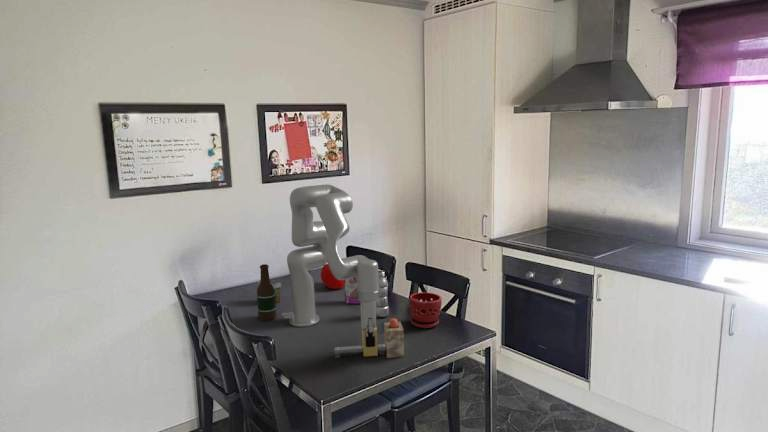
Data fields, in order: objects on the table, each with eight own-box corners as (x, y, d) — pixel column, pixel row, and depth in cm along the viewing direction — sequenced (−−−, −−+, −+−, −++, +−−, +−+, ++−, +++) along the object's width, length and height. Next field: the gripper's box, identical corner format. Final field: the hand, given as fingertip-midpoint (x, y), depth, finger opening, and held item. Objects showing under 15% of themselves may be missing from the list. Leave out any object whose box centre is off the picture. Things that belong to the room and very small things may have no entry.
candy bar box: (345, 304, 234) (343, 270, 231) (346, 300, 239) (345, 267, 236) (368, 304, 233) (367, 270, 230) (370, 300, 238) (369, 267, 235)
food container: (253, 303, 238) (251, 283, 236) (260, 299, 243) (259, 279, 242) (275, 306, 233) (273, 286, 231) (282, 302, 239) (281, 282, 237)
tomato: (347, 292, 252) (346, 265, 249) (319, 292, 252) (318, 266, 250) (349, 282, 267) (348, 257, 265) (323, 282, 267) (322, 257, 265)
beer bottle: (259, 315, 222) (256, 263, 218) (277, 314, 223) (274, 262, 219) (257, 322, 215) (253, 268, 211) (275, 321, 215) (272, 267, 211)
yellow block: (363, 356, 180) (362, 330, 178) (362, 350, 185) (361, 324, 183) (377, 355, 180) (376, 329, 178) (376, 349, 185) (375, 323, 183)
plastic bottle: (387, 319, 215) (386, 274, 211) (372, 318, 216) (370, 273, 213) (390, 313, 221) (389, 269, 218) (375, 313, 222) (374, 269, 219)
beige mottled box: (387, 358, 179) (386, 331, 177) (384, 348, 187) (384, 322, 185) (404, 357, 179) (403, 330, 178) (400, 347, 188) (400, 321, 186)
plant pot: (432, 332, 200) (432, 304, 198) (404, 326, 207) (403, 298, 205) (446, 321, 211) (446, 294, 209) (419, 316, 218) (418, 289, 216)
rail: (334, 358, 180) (334, 350, 179) (334, 355, 182) (334, 347, 182) (387, 354, 182) (387, 346, 181) (386, 351, 184) (386, 343, 184)
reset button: (390, 332, 180) (390, 321, 180) (389, 329, 183) (389, 318, 182) (398, 332, 181) (397, 320, 180) (397, 328, 184) (396, 317, 183)
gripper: (356, 287, 186) (357, 334, 190) (359, 303, 170) (361, 354, 173) (376, 286, 187) (377, 332, 190) (381, 302, 171) (382, 352, 174)
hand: (369, 342), depth 182 cm, fingers closed on yellow block, 5 cm apart
